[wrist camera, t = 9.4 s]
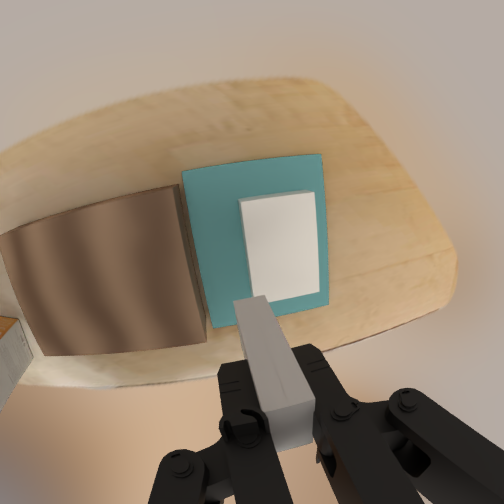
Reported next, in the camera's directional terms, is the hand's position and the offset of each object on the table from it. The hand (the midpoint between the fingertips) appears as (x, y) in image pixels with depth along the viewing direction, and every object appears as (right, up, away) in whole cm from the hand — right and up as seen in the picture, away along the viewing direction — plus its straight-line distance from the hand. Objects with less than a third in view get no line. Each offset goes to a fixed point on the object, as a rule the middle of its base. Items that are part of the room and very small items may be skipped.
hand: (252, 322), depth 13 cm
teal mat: (+1, +4, +12) cm, 13 cm away
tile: (+3, +3, +10) cm, 11 cm away
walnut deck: (-14, +1, +10) cm, 17 cm away
